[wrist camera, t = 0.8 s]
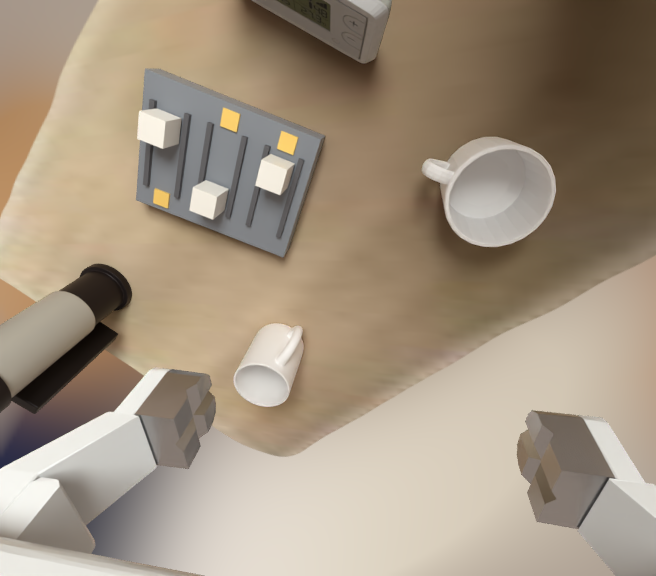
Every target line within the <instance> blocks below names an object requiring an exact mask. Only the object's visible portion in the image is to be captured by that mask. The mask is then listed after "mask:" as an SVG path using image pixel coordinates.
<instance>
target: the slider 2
mask: <svg viewBox="0 0 656 576" xmlns="http://www.w3.org/2000/svg"><path fill="white" fill-rule="evenodd" d="M228 191H229V189H228V188H225V187H223V186H220V185H217V184H215V183H212V182H210V181H207V180H205V181H203V182H202V183H200V184H198V185H196V186H194V187H193V190H192V196H191V203H190V210H189V211H192V212H195V213H197V214H200V215H202V216H205V217H207V218H210V219H212V220H213V219H214V218H216V217H217V216H218V215H219V214H221V213H222V212H223V211H224V210H225V205H226V200H227V196H228Z"/></svg>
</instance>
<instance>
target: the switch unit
mask: <svg viewBox="0 0 656 576" xmlns="http://www.w3.org/2000/svg"><path fill="white" fill-rule="evenodd" d="M149 109H160V110H162V111H165V112H167V113H170V114H172V115H175V116H177V117H180V118H182V120H181V129H180V137H179V144H177V145H174V146H171V147H167V148H164V149H162V148H159V147H157V146H154V145H152V144H149V143H147V142H144V141H142V140H140V150H139V165H138V180H137V195H136V200H137V201H140V202H142V203H145V204H147V205H150V206H153V207H155V208H158V209H160V210H163V211H165V212H168V213H170V214H173V215H176V216H178V217H181V218H183V219H186V220H188V221H191V222H194V223H196V224H199V225H201V226H204V227H206V228H209V229H211V230H214V231H217V232H219V233H222V234H224V235H227V236H229V237H232V238H235V239H237V240H240V241H242V242H245V243H247V244H250V245H252V246H255V247H258V248H260V249H263V250H265V251H268V252H270V253H273V254H276V255H278V256H281V257H284V256H285V254H286V253H287V251H288V249H289V247H290V244H291V241H292V238H293V235H294V231H295V228H296V225H297V222H298V219H299V216H300V213H301V210H302V207H303V203H304V200H305V197H306V194H307V191H308V188H309V185H310V182H311V179H312V176H313V172H314V169H315V166H316V163H317V160H318V157H319V154H320V151H321V148H322V145H323V141H324V138H325V136H324V135H322V134H319V133H317V132H315V131H312V130H310V129H307V128H305V127H302V126H300V125H297V124H295V123H292V122H290V121H287V120H285V119H282V118H280V117H277V116H275V115H272V114H270V113H267V112H265V111H262V110H260V109H258V108H255V107H253V106H250V105H248V104H245V103H243V102H240V101H238V100H235V99H233V98H230V97H228V96H225V95H223V94H220V93H218V92H215V91H213V90H210V89H208V88H206V87H203V86H201V85H198V84H196V83H193V82H191V81H188V80H186V79H183V78H181V77H178V76H176V75H173V74H171V73H168V72H166V71H163V70H161V69H145V76H144V91H143V106H142V110H149ZM270 154H272V155H275V156H277V157H280V158H282V159H285V160H287V161H290V162H292V163H295V165H294V168H293V172H292V175H291V178H290V182H289V185H288V188H287V189H286V190H285V191H284V192H283V193H282V194H281V195H278V194H275V193H273V192H270V191H268V190H265V189H263V188H260V187H258V186H255V184H256V180H257V176H258V172H259V168H260V164H261V160H262V159H263V158H265V157H267V156H268V155H270ZM205 180H207V181H210V182H212V183H215V184H217V185H220V186H223V187H225V188H228V189H229V191H228V196H227V200H226V205H225V210H224V211H223V212H222V213H221V214H219V215H218V216H217V217H216V218H214V219H213V220H212V219H210V218H207V217H205V216H202V215H200V214H197V213H195V212H192V211H189V210H190V203H191V196H192V190H193V187H194V186H196V185H198V184H200V183H202V182H203V181H205Z"/></svg>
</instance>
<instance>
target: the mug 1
mask: <svg viewBox="0 0 656 576" xmlns="http://www.w3.org/2000/svg"><path fill="white" fill-rule="evenodd" d="M302 333H303V329H302V327H301V326H299V325H296V326H294V327H293V328H291V327H289V326H287V325H284V324H280V323H272V324H268V325H266V326H264V327H262V328H261V329H260V330H259V331H258V333H257V334H256V336H255V337H254V339H253V341H252V343H251V345H250V347H249V348H248V350H247V352H246V354H245V356H244V358H243V359H242V361H241V363H240V365H239V367H238V369H237V371H236V372H235V374H234V386H235V388H236V390H237V392H238V393H239V394H240V395H241V396H242V397H243V398H244V399H246V400H247V401H249V402H250V403H253V404H255V405H258V406H263V407H274V406H277V405H280V404H282V403H283V402H285V401H286V399H287V398H288V396H289V394H290V391H291V388H292V385H293V382H294V379H295V376H296V373H297V370H298V367H299V364H300V361H301V358H302V355H303V351H304V344H303V340H302V338H301V337H302Z"/></svg>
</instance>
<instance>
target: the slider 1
mask: <svg viewBox="0 0 656 576" xmlns="http://www.w3.org/2000/svg"><path fill="white" fill-rule="evenodd" d="M181 120H182V118H180V117H177V116H175V115H172V114H170V113H167V112H165V111H162V110H160V109H149V110H142V111H139V121H138V137H137V139H139V140H142V141H144V142H147V143H149V144H152V145H154V146H157V147H159V148H162V149H164V148H167V147H171V146H174V145H177V144H179V137H180V129H181Z"/></svg>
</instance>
